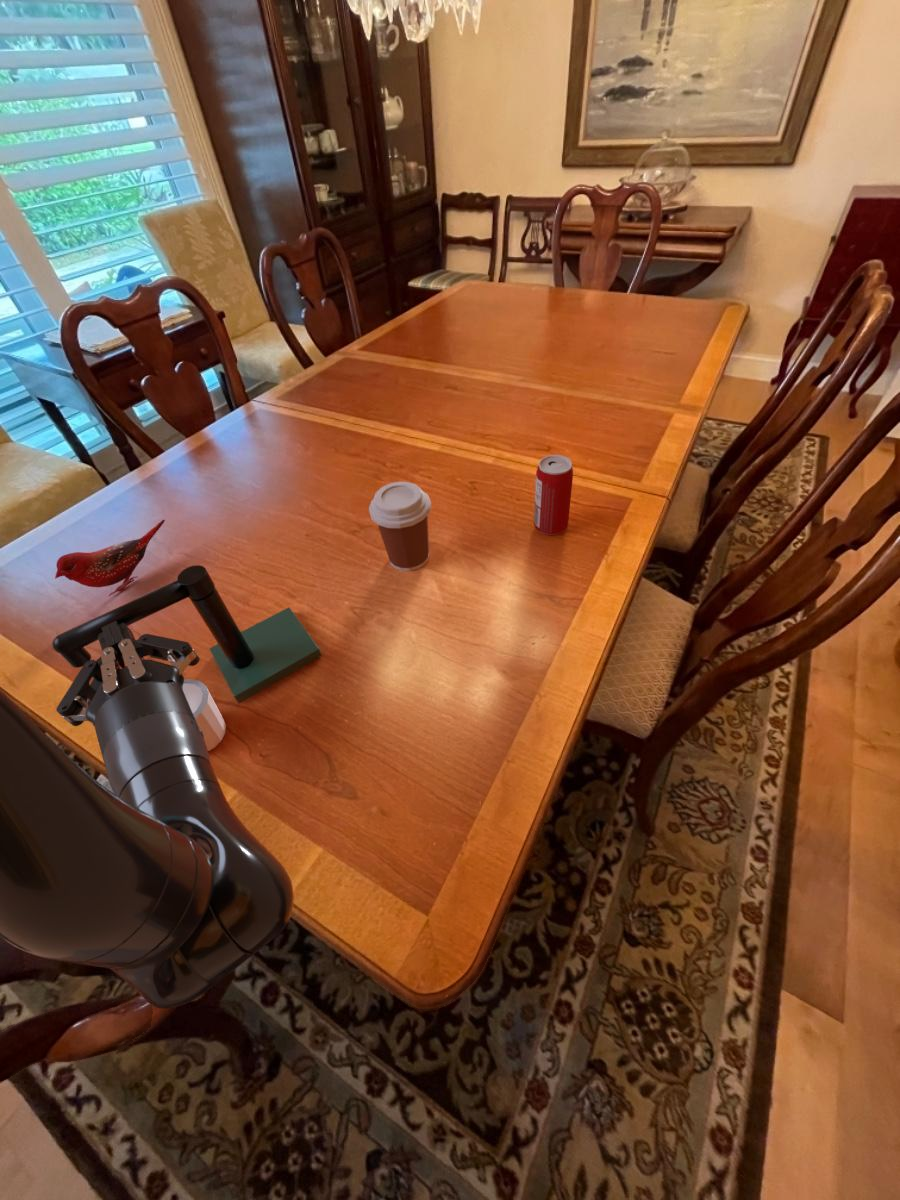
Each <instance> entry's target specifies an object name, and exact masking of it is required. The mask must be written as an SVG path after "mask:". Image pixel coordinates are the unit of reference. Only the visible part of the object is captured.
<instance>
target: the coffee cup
mask: <svg viewBox="0 0 900 1200" xmlns="http://www.w3.org/2000/svg"><path fill="white" fill-rule="evenodd" d="M368 506H369V507H368V512H369V515H370V519H371V520H372V521H373V522H374V523H375V524H376V525H377V527H378V529H379V532H380V536H381V539H382V542H383V545H384V548H385V551H386V554H387V557H388V560H389V563H390V566H392V567H393V568H394V569H395V570H399V571H401V572H413V571H416V570H419V569H420V568H422V567H424V566H425V565H426V564H427V563H428V561H429V558H430V543H429V541H430V540H429V518H428V516H429V514H430V512H431V509H432V501H431V498H430V497H429V494H428V493H426V492H425V491H423V490H422V489H421V487H420V486H418V484H416V483H413V482H409V481H394V482H390V483H387V484H385V485H383V486H381V487H380V488H379V489H378V490H377V491H376V492H375V493H374V497H373V499H372V500H371V502H370V503H369V505H368Z"/></svg>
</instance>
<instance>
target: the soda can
mask: <svg viewBox="0 0 900 1200" xmlns="http://www.w3.org/2000/svg"><path fill="white" fill-rule="evenodd" d="M573 478H574V469H573V462H572V460H571V459H570V458H569V457H567V456H565V455H561V454H550V455H546V456H544V457H542V458H541V459H540V460H539V461H538V465H537V468H536V472H535V492H534V511H533V512H534V515H533V525H534V528H535V529H536V530H537V531H538V532H539V533H541V534H543V535H546V536H556V535H557V536H558V535H560V534H562V533H563V532H565V531H566V530H567V529H568V527H569V520H570V519H569V518H570V511H571V510H570V508H571V500H572V488H573V481H574V480H573Z"/></svg>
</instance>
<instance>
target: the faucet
mask: <svg viewBox="0 0 900 1200" xmlns="http://www.w3.org/2000/svg"><path fill="white" fill-rule="evenodd" d="M189 600H190V602H191V604H192V605H193V607H194V608H195V609H196V611H197V612H198V614H199V616H200V618H201V619H202V621H203V623H204V624H205V625H206V627H207V629H208V630H209V631H210V633H211V635H212V637H213V638H214V640H215V641H216V643H217V644H215V645H213V646H211V647H209V649H208V650H209V651H210V653H211V655H212V657H213V659H214V660H215V663H216V665H217V666H218V669H219V670H220V673H221V674H222V676H223V678H224V680H225V682H226V684H227V685H228V687H229V689H230V692H231V693H232V695H233V697H234V699H235V700H236V702H237V703H238V704H239V703H241V702H243V701H244V700H246V699H248V698H250V697H252V696H253V695H256V694H257V693H259V692H260V691H262V690H264V689H265V688H267V687H270V686H272V684H274V683H276V682H278V681H280V680H282V679H283V678H285V677H287V676H288V675H289V676H290V674H292V673H294V672H296V671H297V670H300V669H301V668H303V667H305V666H306V665H308V664H309V663H312V662H313V661H315V660H318V659H319V658H320V657H323V655H322V652H321V649H320V647H319V646H318V645H317V644H316V642H315V640H314V639H313V638H312V637H311V635H310V634H309V633H308V631H307V630H306V628H305V627H304V626H303V624H302V623H301V622H300V620H299V619H298V618H297V617H298V616H296V615H295V613H294V611H293V610H292V608H291V607H290V606H288V607H286V608H285V609H282V610H280V611H279V612H277V613H274V614H272V615H270V616H268V617H267V618H265V619H263V620H262V621H259V622H257V623H256V624H253V625H252V626H250V627H248V628H246V629H243V630H242V631H241V630H240V628H239V626H238V625H237V623H236V621H235V620H234V618H233V616H232V613H231V612H230V610H229V609H228V607H227V605H226V604H225V602H224V600H223V598H222V597H221V595H220V593H219V591H218V589H217V588H216V586H215V587H214V590H213V591H212V592H211V593H210V594H209V595H208V596H206V597H204V598H202V599H197V600H194V599H190V598H189Z"/></svg>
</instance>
